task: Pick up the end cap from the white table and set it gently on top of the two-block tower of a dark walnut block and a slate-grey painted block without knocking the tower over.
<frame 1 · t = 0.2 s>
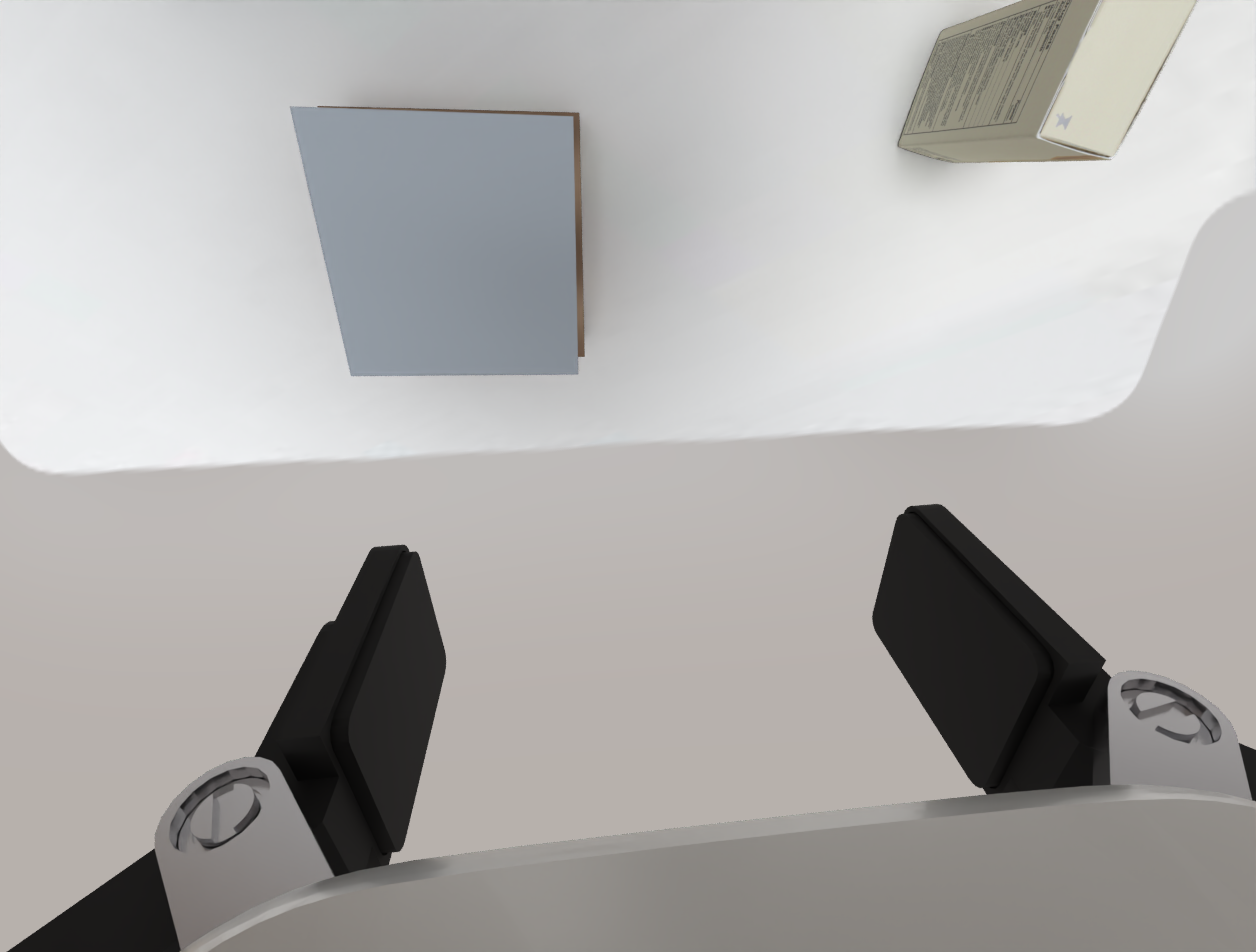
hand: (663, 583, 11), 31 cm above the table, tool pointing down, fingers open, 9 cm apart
walnut base block: (478, 234, 36), on the table, touching slate top block
skincare box: (946, 96, 35), on the table
slate top block: (467, 243, 32), point 4 cm above the table, touching walnut base block
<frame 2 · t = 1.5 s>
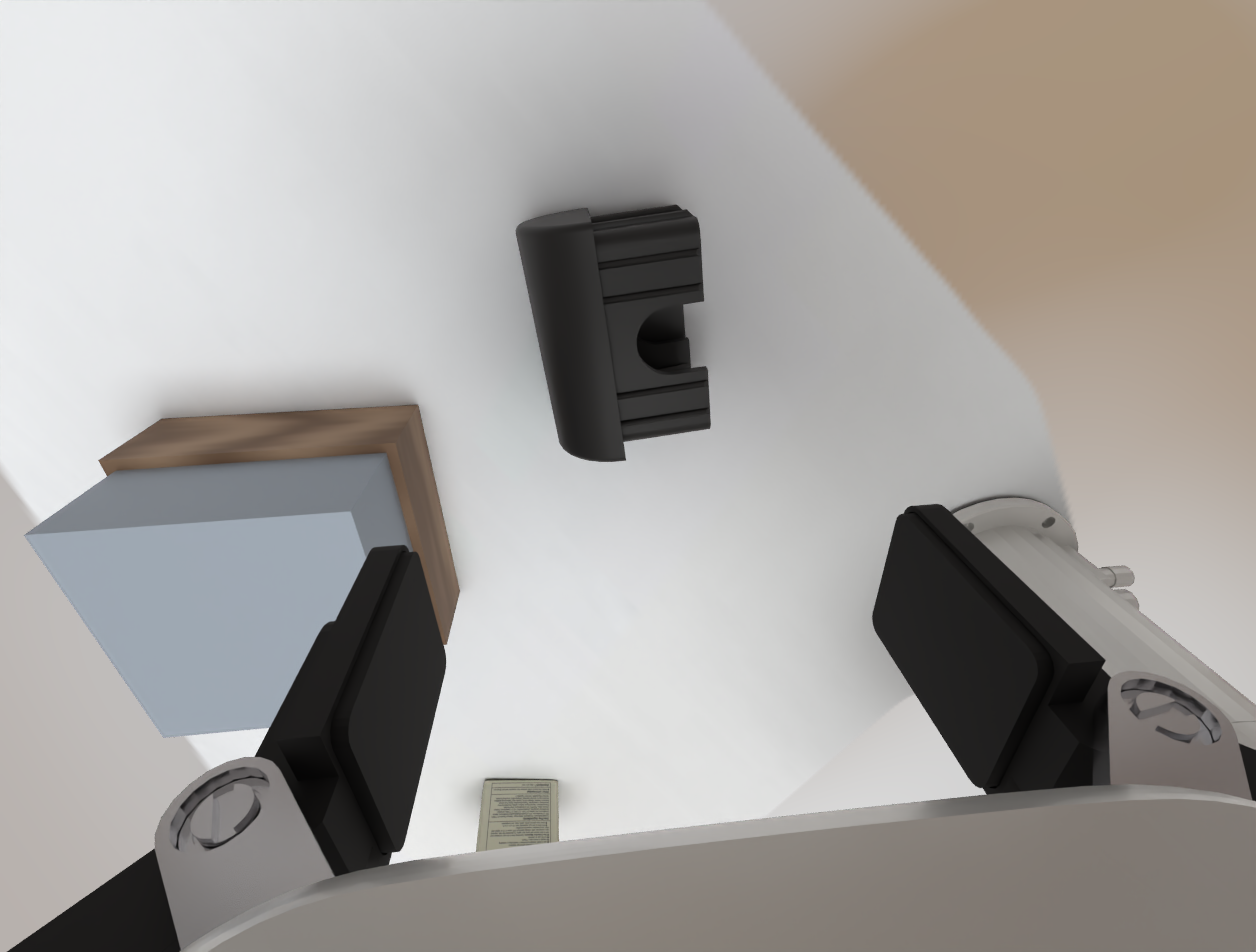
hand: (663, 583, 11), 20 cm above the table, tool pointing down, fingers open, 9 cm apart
end cap: (611, 311, 29), on the table
walnut base block: (330, 510, 33), on the table, touching slate top block
skincare box: (521, 791, 48), on the table
slate top block: (295, 564, 29), point 5 cm above the table, touching walnut base block
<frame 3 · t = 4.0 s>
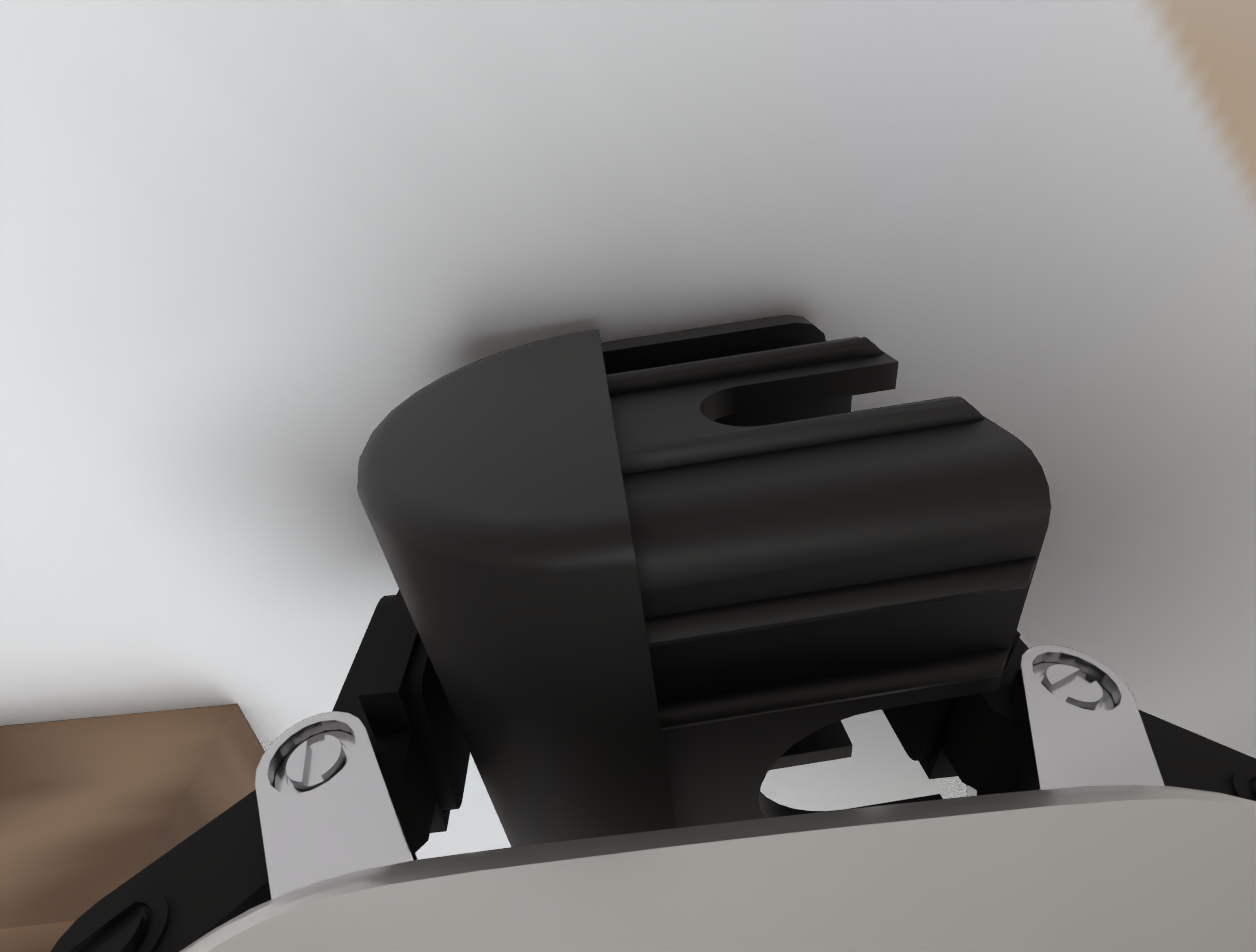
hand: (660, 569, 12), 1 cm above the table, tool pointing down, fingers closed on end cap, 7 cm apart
end cap: (650, 528, 13), on the table, touching gripper
walnut base block: (105, 853, 17), on the table, touching slate top block
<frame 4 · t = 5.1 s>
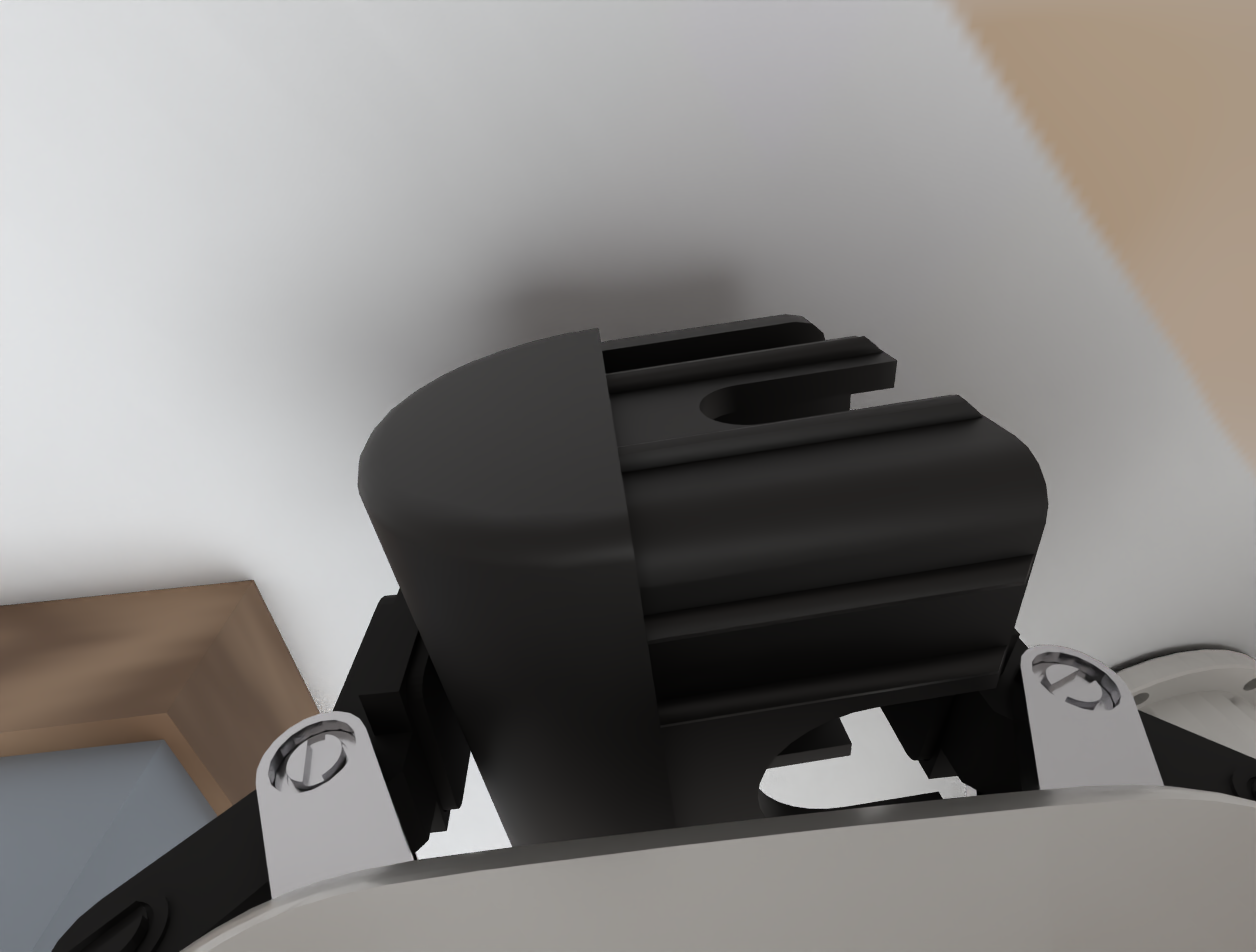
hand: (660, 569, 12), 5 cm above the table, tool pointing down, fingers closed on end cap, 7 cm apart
end cap: (650, 527, 13), point 4 cm above the table, touching gripper
walnut base block: (135, 730, 20), on the table, touching slate top block
slate top block: (26, 894, 16), point 5 cm above the table, touching walnut base block
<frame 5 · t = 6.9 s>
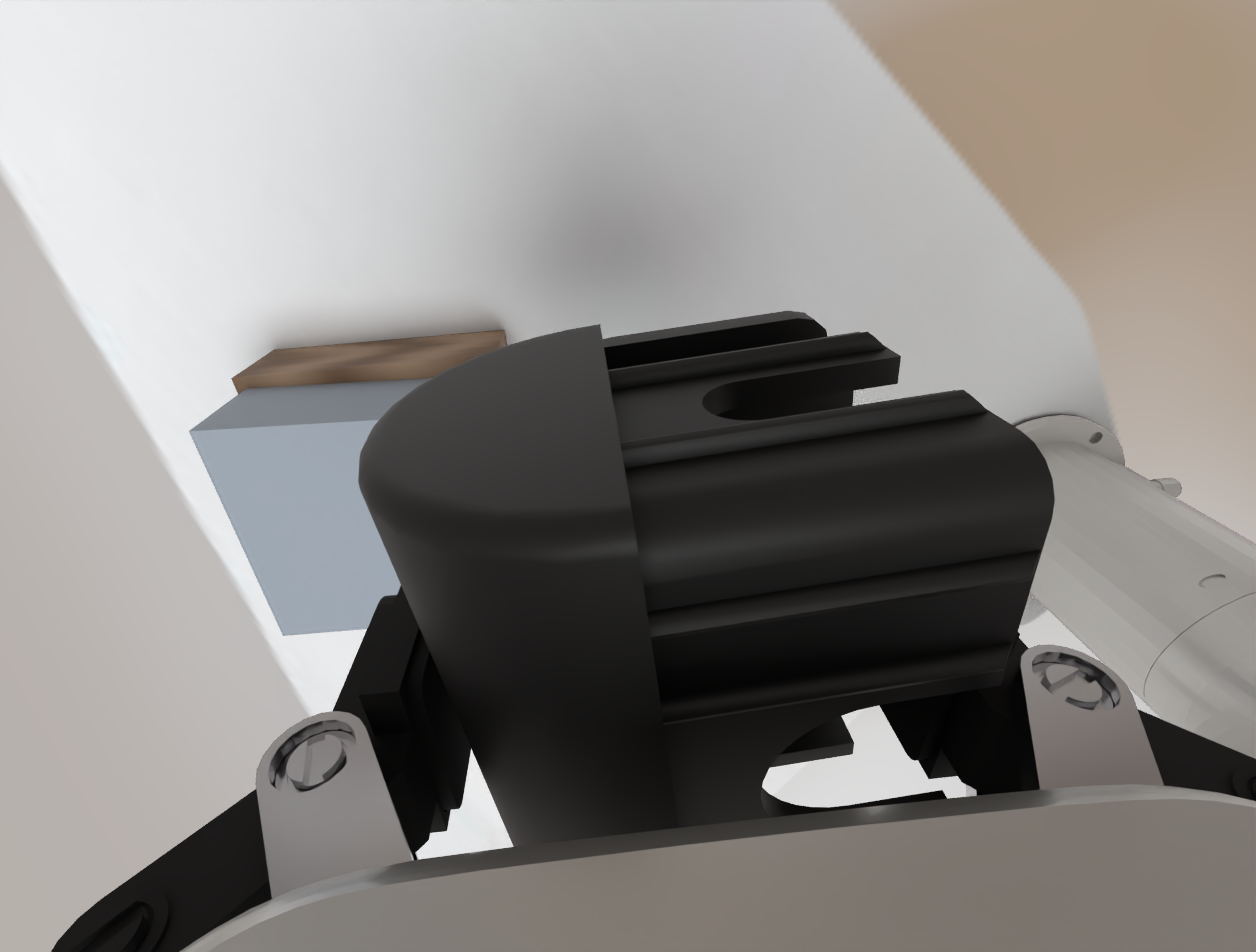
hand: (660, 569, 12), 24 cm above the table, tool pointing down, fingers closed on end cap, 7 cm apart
end cap: (651, 525, 13), point 22 cm above the table, touching gripper
walnut base block: (419, 439, 36), on the table, touching slate top block
slate top block: (397, 482, 32), point 5 cm above the table, touching walnut base block
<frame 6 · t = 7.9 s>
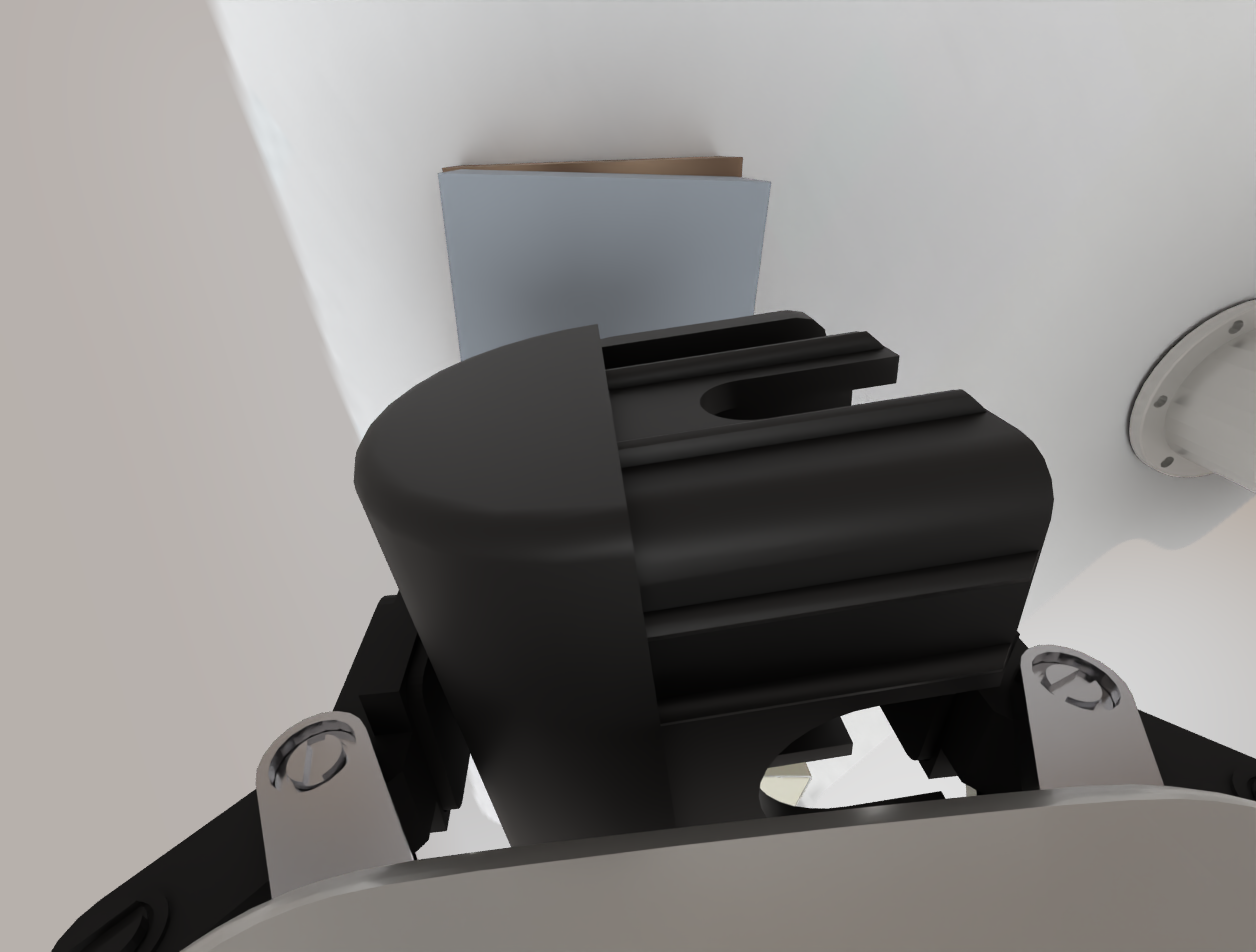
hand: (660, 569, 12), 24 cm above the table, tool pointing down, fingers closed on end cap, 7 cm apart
end cap: (650, 526, 13), point 22 cm above the table, touching gripper
walnut base block: (598, 292, 32), on the table
skincare box: (714, 651, 47), on the table
slate top block: (601, 312, 28), point 5 cm above the table
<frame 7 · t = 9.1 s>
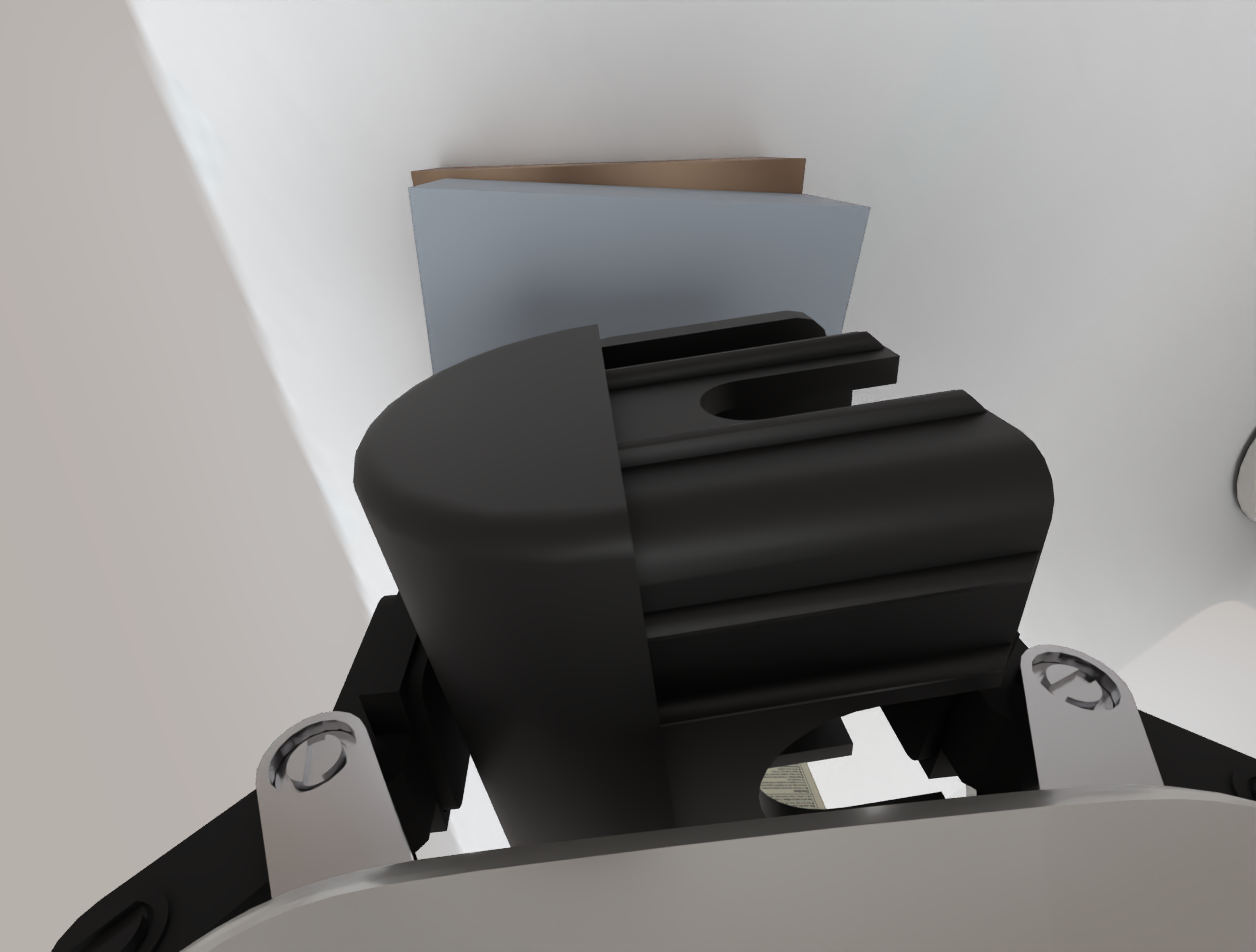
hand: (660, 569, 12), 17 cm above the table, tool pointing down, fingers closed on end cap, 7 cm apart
end cap: (650, 526, 13), point 15 cm above the table, touching gripper
walnut base block: (611, 323, 26), on the table, touching slate top block
skincare box: (739, 723, 41), on the table
slate top block: (623, 360, 22), point 5 cm above the table, touching walnut base block
when the fingers open (12 cm above the table, at t = 10.6 s): end cap drops 1 cm, resting on slate top block.
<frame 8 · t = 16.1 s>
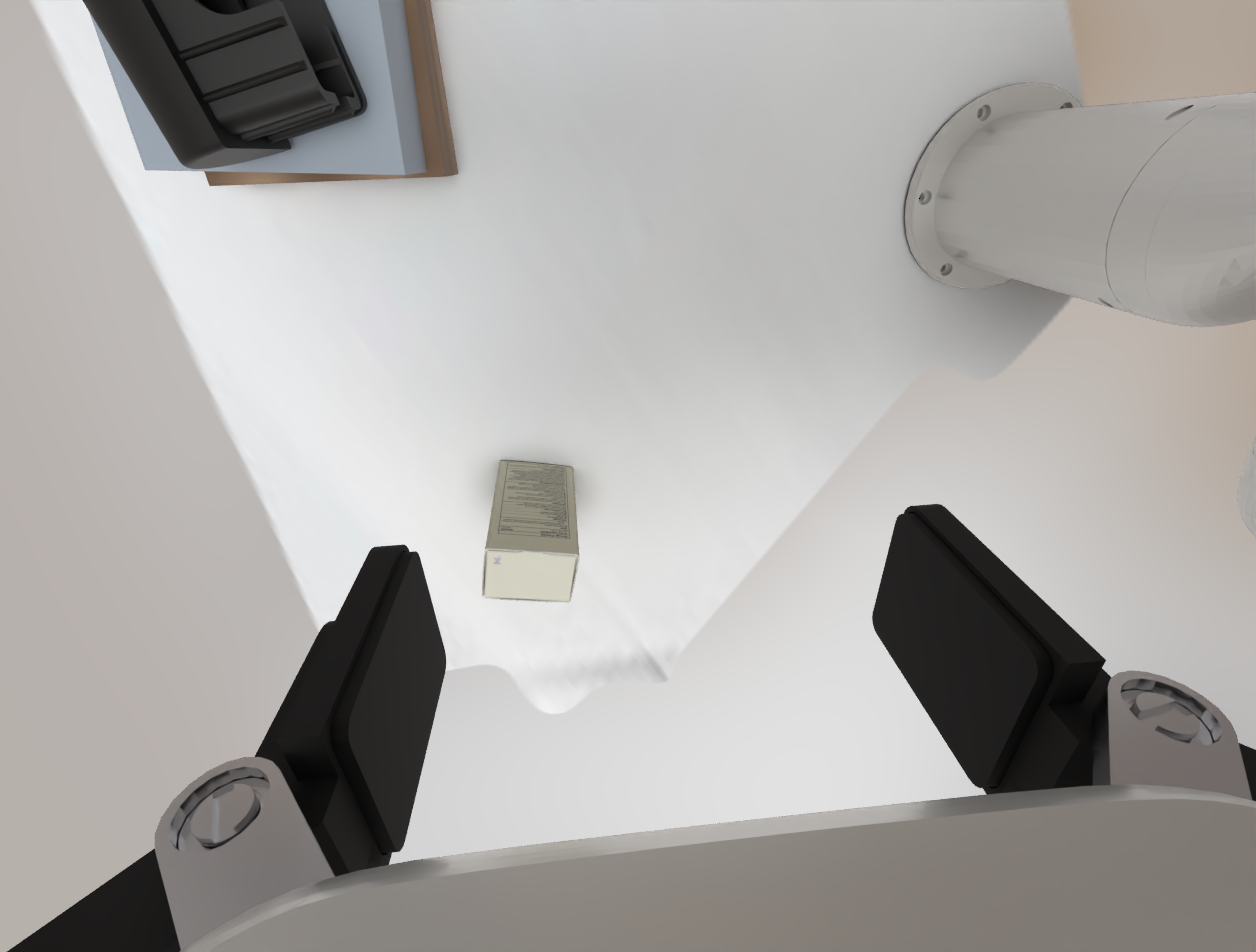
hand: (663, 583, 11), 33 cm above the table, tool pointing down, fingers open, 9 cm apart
end cap: (247, 18, 25), point 9 cm above the table, touching slate top block
walnut base block: (327, 52, 33), on the table, touching slate top block
skincare box: (536, 483, 48), on the table
slate top block: (287, 35, 29), point 4 cm above the table, touching end cap, walnut base block
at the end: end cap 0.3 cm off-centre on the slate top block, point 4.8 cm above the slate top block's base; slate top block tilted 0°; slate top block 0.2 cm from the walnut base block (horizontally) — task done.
